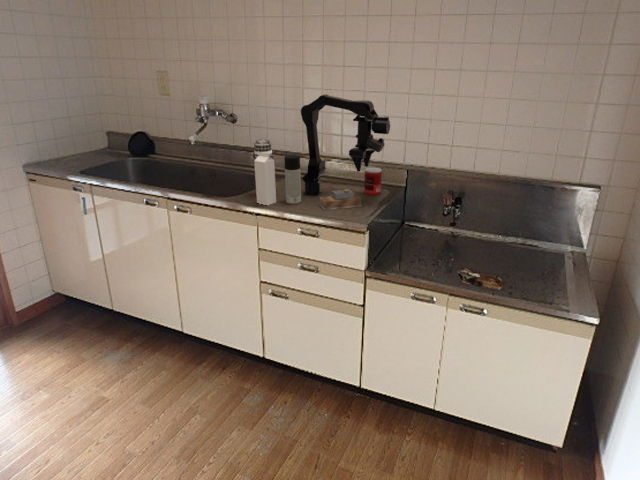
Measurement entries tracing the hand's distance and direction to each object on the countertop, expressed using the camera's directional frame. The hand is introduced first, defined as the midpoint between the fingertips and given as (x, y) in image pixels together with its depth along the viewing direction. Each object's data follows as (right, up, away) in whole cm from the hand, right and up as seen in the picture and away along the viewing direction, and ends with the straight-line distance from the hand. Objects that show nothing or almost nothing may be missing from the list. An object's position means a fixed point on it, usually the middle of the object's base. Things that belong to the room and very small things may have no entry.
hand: (362, 168), depth 200 cm
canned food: (+6, -9, +14) cm, 18 cm away
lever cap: (-9, -13, -4) cm, 16 cm away
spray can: (-30, -14, +3) cm, 33 cm away
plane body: (-10, -16, -3) cm, 19 cm away
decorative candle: (-43, -10, +13) cm, 46 cm away
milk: (-42, -15, +2) cm, 44 cm away
